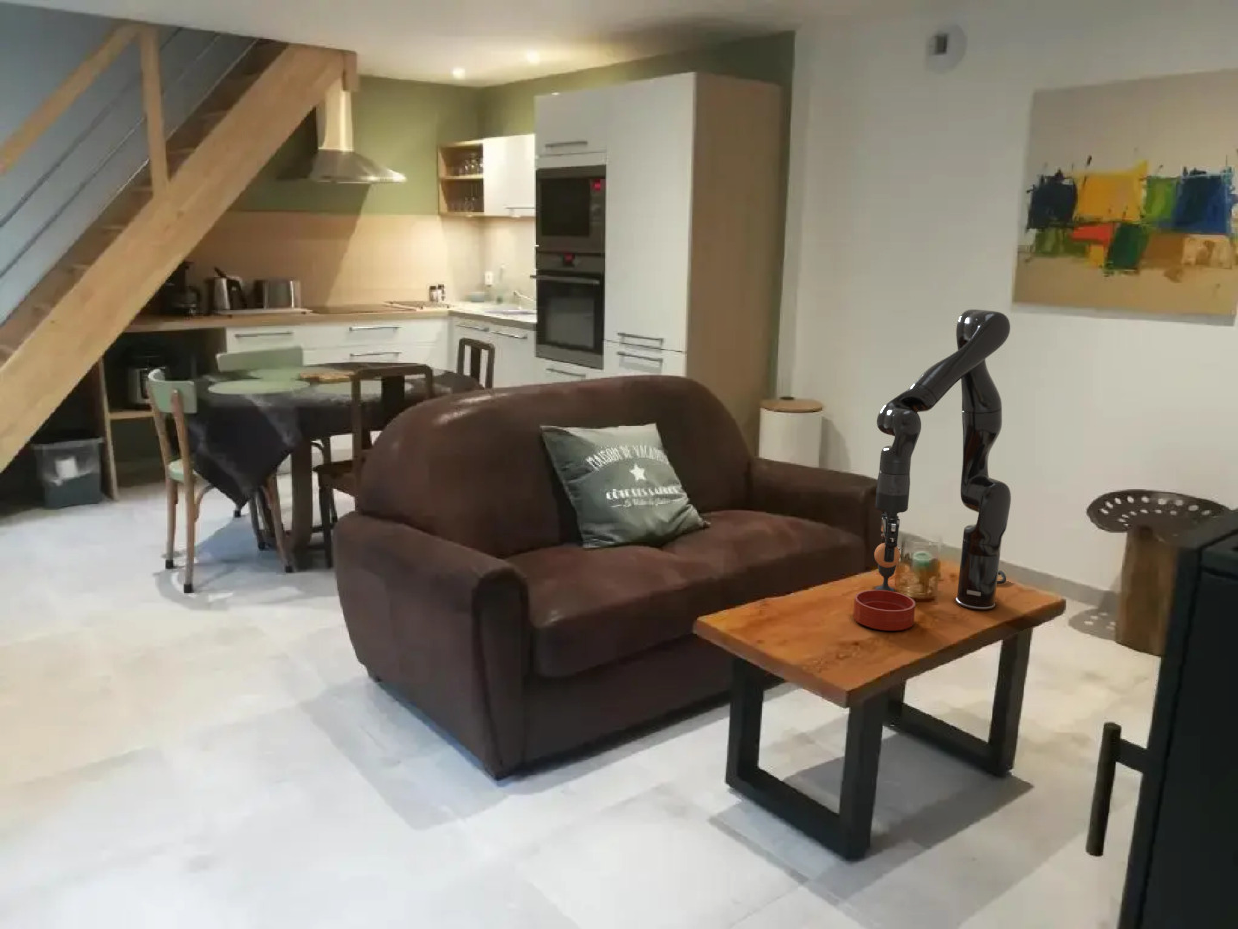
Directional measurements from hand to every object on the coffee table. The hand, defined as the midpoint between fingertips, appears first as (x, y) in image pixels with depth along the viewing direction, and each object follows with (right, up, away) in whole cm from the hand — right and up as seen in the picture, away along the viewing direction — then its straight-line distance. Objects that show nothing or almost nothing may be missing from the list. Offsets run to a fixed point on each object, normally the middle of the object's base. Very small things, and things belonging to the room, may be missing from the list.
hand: (887, 557), depth 234 cm
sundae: (+6, -11, +25) cm, 28 cm away
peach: (0, -2, +1) cm, 2 cm away
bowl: (0, -16, +3) cm, 16 cm away
